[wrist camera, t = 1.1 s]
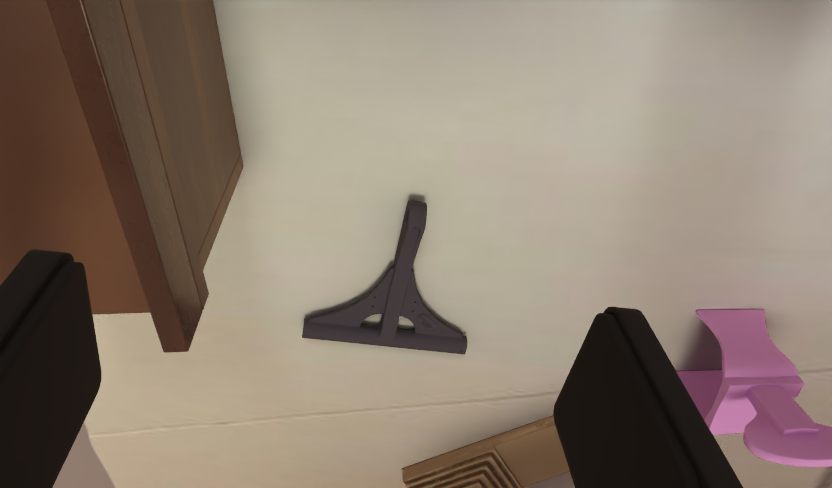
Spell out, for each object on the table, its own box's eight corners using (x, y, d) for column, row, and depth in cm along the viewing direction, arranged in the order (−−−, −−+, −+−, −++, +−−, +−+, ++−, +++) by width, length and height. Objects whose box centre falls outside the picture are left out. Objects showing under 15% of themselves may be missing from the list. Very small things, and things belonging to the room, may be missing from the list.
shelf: (69, 179, 43) (-91, 362, 28) (-77, -212, 30) (-512, -251, 15) (251, 174, 44) (188, 352, 29) (184, -210, 31) (7, -246, 16)
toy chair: (660, 377, 59) (735, 522, 46) (685, 310, 54) (778, 453, 41) (741, 375, 59) (836, 518, 47) (774, 308, 54) (891, 449, 42)
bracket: (507, 209, 46) (514, 228, 44) (461, 345, 55) (465, 367, 52) (322, 180, 44) (319, 199, 42) (303, 327, 52) (299, 349, 50)
